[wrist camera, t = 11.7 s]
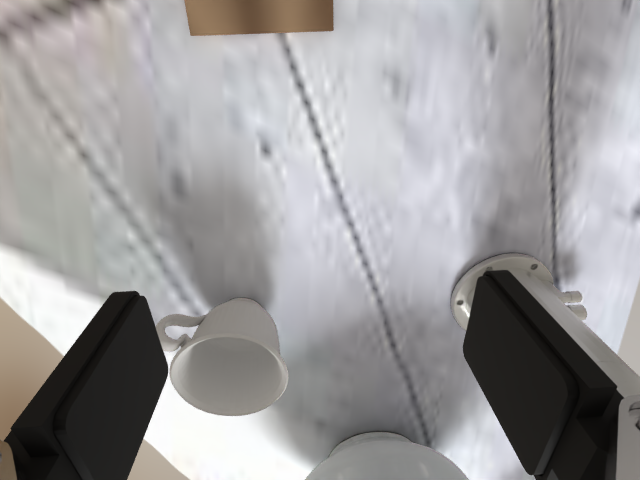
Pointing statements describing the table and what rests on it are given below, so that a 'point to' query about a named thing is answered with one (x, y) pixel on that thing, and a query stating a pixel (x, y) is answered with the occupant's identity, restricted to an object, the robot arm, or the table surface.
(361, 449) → the bowl
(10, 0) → the table surface
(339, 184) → the table surface
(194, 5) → the brown base with peg
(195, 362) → the teacup
